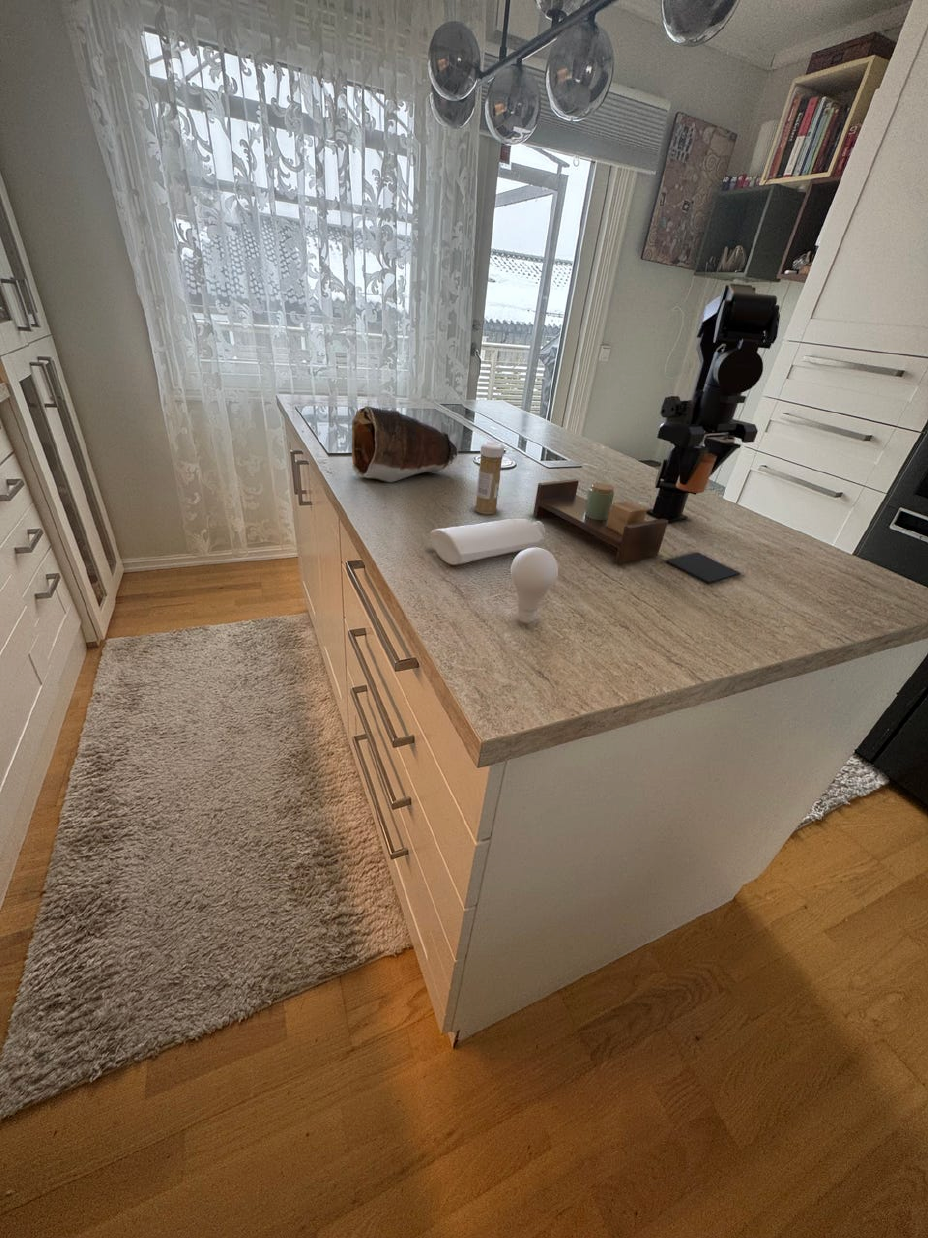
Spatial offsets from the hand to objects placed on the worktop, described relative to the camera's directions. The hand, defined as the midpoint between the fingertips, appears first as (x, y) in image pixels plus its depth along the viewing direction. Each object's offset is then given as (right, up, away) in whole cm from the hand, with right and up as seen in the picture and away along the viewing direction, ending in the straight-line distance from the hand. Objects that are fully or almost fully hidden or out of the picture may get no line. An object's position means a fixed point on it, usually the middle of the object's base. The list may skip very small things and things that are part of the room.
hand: (692, 482), depth 90 cm
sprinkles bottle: (-36, -2, +17) cm, 39 cm away
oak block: (-11, -7, +4) cm, 14 cm away
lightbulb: (-31, -24, -19) cm, 44 cm away
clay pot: (-53, +11, +34) cm, 64 cm away
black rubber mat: (+3, -15, +2) cm, 15 cm away
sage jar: (-15, -4, +9) cm, 17 cm away
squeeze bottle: (-35, -12, 0) cm, 37 cm away
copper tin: (0, -1, +1) cm, 1 cm away
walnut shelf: (-15, -7, +11) cm, 20 cm away
